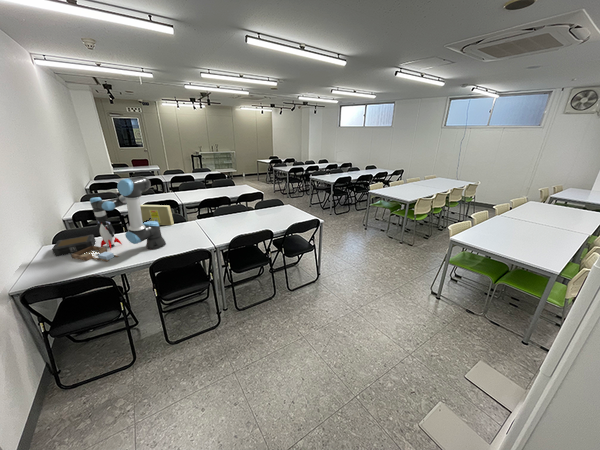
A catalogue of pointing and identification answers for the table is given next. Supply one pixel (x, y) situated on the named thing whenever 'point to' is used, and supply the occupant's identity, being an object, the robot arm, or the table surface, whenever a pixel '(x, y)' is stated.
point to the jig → (89, 256)
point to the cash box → (73, 245)
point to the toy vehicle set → (157, 214)
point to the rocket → (107, 237)
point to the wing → (106, 255)
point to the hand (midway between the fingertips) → (109, 239)
